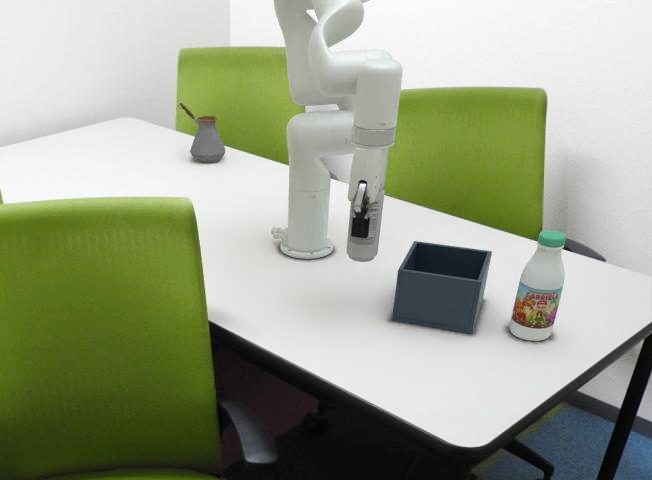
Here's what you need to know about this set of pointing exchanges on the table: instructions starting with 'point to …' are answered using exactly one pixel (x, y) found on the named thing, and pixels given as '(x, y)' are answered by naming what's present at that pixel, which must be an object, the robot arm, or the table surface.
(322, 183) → the robot arm
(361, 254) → the energy drink can
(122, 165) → the table surface
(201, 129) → the coffee pot
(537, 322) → the milk bottle
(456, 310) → the open storage box
